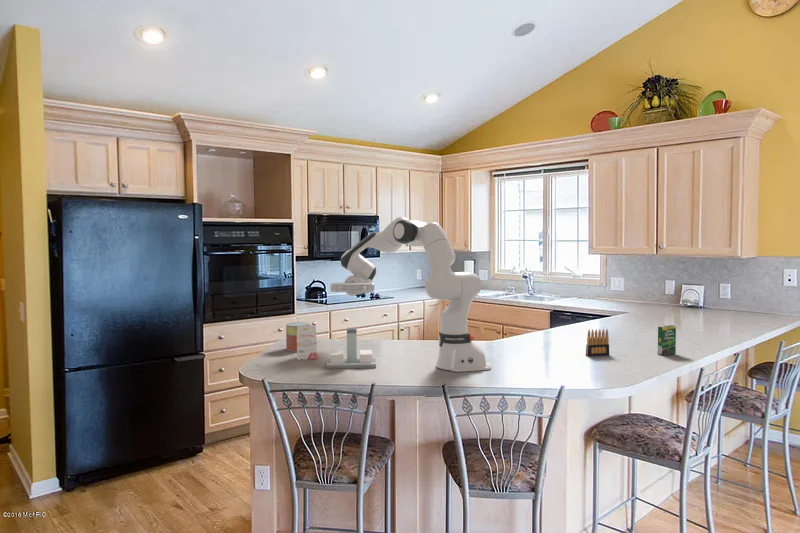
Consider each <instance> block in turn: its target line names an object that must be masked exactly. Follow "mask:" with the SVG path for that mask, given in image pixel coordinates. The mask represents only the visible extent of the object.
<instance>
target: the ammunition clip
mask: <svg viewBox="0 0 800 533" xmlns="http://www.w3.org/2000/svg"><path fill="white" fill-rule="evenodd" d="M585 346H586V347H585V356H586V357H606V356H610V339H609V329H608V328H606V330H605V329H604V328H603V329H602V331H601V329H595V331H594V329H592V330H590V329H588V331H587V338H586V345H585Z"/></svg>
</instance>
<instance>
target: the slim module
mask: <svg viewBox="0 0 800 533" xmlns="http://www.w3.org/2000/svg"><path fill="white" fill-rule="evenodd" d="M357 330H358V329H357V327H347V328H346V359H347V363H357V359H358V358H357V357H358V353H357V350H358V347H357V346H358V345H357V343H358V342H357V333H358V332H357Z"/></svg>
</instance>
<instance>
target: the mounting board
mask: <svg viewBox="0 0 800 533" xmlns="http://www.w3.org/2000/svg"><path fill="white" fill-rule="evenodd" d="M336 368H341V369H376V368H377V362H376V358H373V350H372V349H360V350H359V358H357V363H347V358H345V353H344V349H342V350H341V349H337V350H335V349H334V350H331V352H330V358H329V359H328V360H327V363H326V369H327V370H329V369H331V370H332V369H336Z"/></svg>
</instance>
